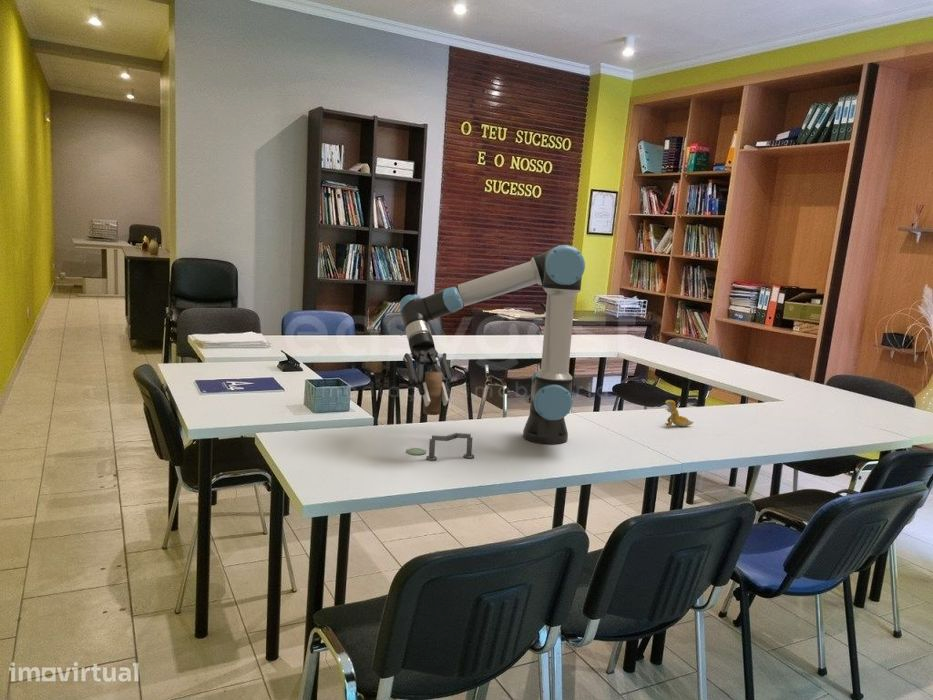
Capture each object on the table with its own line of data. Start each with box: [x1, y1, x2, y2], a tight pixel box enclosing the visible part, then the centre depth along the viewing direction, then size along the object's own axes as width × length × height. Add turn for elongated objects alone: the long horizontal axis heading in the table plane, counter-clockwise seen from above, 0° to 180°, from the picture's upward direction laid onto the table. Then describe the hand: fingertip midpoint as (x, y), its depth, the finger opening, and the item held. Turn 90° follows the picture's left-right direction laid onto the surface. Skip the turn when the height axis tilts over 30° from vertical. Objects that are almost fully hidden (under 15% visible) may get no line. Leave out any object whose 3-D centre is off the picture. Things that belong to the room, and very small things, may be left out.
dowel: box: [422, 370, 442, 416], centre depth 196 cm, size 5×5×12 cm
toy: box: [664, 399, 694, 429], centre depth 254 cm, size 7×15×10 cm, turn 108°
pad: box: [406, 447, 427, 456], centre depth 204 cm, size 6×6×1 cm
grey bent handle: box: [425, 432, 475, 462], centre depth 199 cm, size 15×4×7 cm, turn 113°
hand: (437, 403), depth 193 cm, fingers closed on dowel, 5 cm apart
